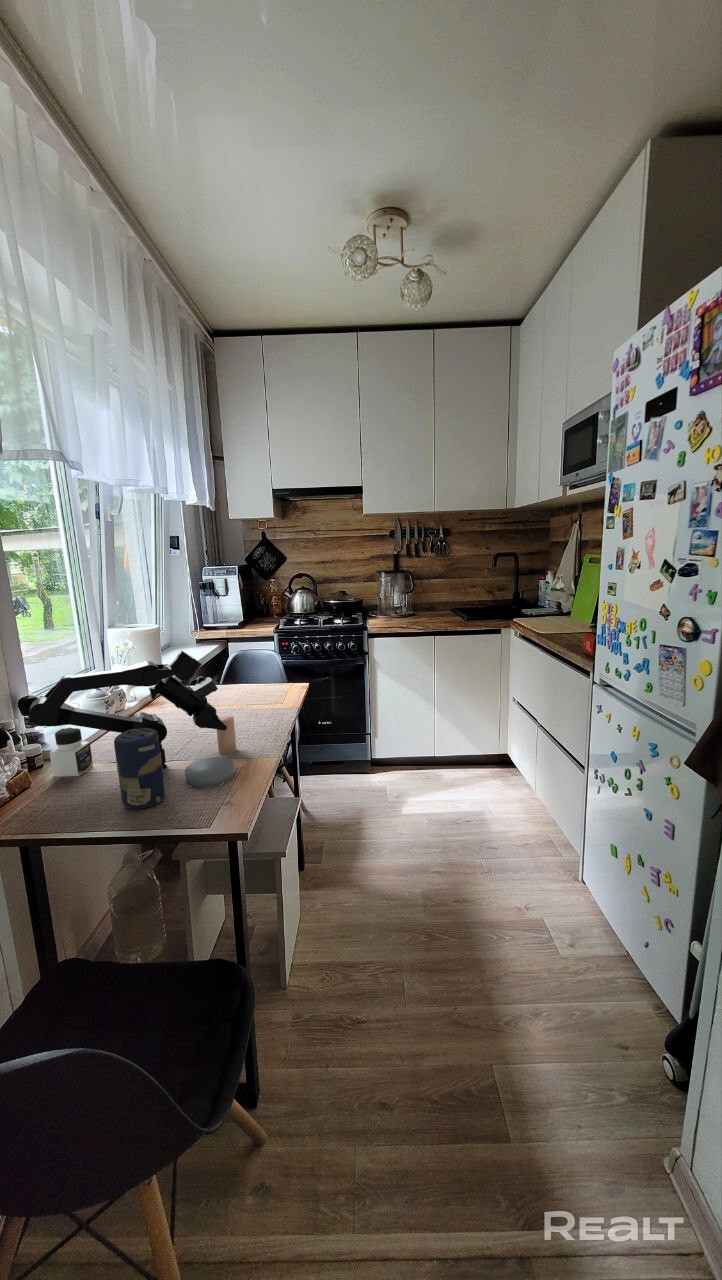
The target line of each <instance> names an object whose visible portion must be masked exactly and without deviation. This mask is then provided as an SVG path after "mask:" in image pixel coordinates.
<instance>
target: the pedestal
mask: <svg viewBox="0 0 722 1280" xmlns="http://www.w3.org/2000/svg"><path fill="white" fill-rule="evenodd" d="M234 765H235V764H234V761H233V760H232V759H230V758H228V757H224V756H212V757H206V758H201V759H199V760H195V761H193V762H192V763H190V764H188V765H187V766H186V767H185V769H184V774H185V783H186V784H188V785H187V786H189V785H190V786H189V787H191V786H192V787H191V788H194V787H197V788H196V789H209V788H208V787H211V788H214V787H213V786H216V787H219V786H221V785H220V784H222V785H224V784H226V782H227V781H228V782H230V781H231V780H232V779H233V778H234V777H235V767H234ZM229 780H230V781H229ZM228 782H227V783H228ZM223 783H224V784H223ZM218 785H219V786H218ZM206 787H207V788H206Z"/></svg>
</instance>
